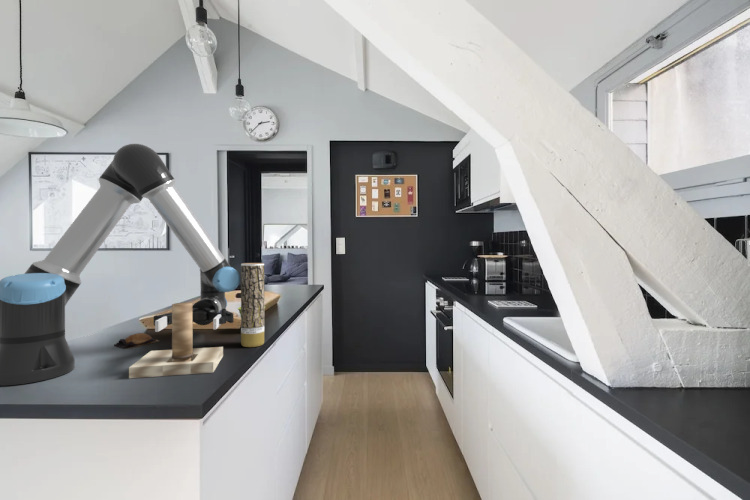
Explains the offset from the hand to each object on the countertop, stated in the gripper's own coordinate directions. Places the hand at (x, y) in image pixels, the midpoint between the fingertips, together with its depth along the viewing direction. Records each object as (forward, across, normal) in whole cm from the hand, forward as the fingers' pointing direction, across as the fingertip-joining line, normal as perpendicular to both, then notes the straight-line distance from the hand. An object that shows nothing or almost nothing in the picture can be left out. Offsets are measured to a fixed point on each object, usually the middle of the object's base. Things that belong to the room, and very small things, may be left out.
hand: (186, 325), depth 95 cm
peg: (+2, 0, -10) cm, 11 cm away
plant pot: (-36, -12, -11) cm, 40 cm away
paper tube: (-17, -14, -10) cm, 25 cm away
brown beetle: (-26, +21, -11) cm, 36 cm away
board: (0, +1, -10) cm, 10 cm away
